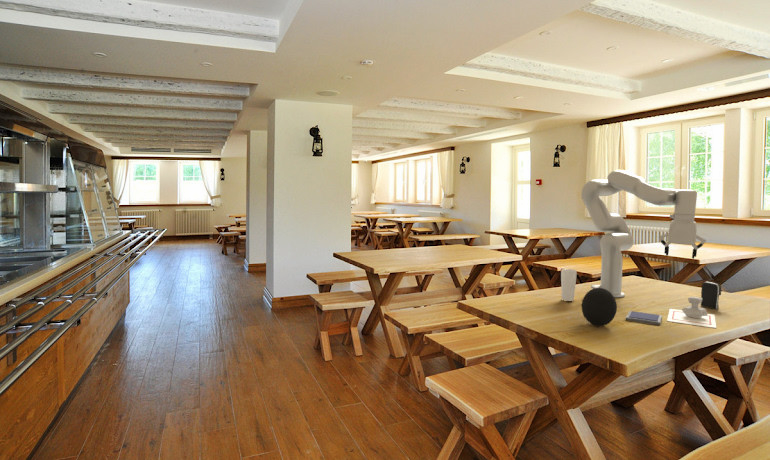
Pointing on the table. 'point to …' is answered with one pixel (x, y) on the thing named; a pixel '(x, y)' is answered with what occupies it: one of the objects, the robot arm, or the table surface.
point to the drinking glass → (568, 284)
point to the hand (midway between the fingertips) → (679, 256)
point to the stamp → (694, 308)
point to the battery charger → (710, 294)
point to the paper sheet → (691, 319)
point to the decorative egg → (599, 306)
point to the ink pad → (644, 317)
